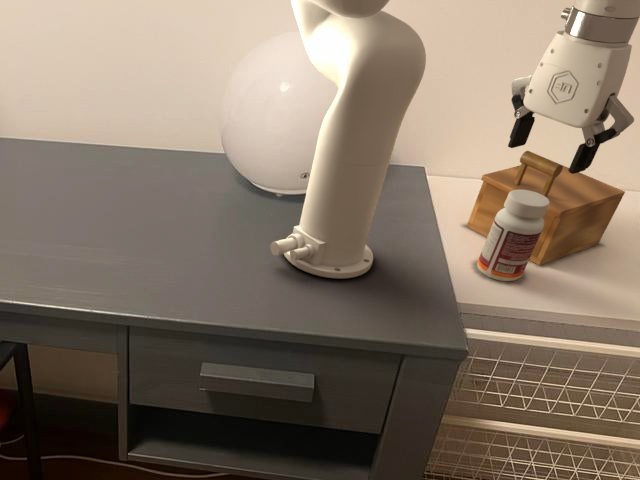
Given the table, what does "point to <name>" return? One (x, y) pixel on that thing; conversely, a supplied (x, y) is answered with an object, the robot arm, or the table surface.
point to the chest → (548, 225)
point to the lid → (553, 184)
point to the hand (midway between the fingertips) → (545, 158)
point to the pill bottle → (513, 235)
